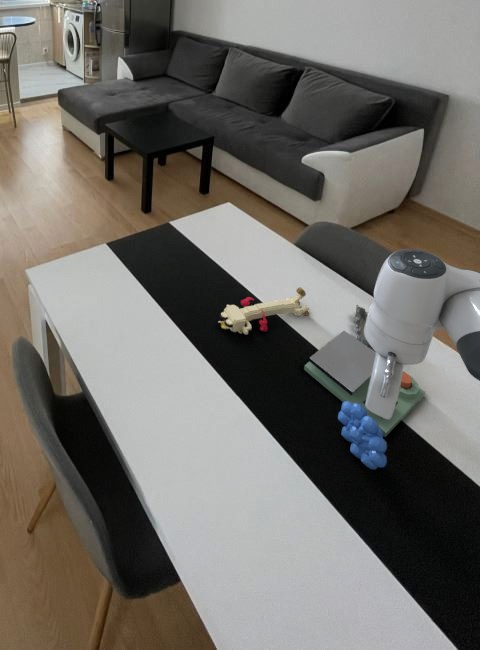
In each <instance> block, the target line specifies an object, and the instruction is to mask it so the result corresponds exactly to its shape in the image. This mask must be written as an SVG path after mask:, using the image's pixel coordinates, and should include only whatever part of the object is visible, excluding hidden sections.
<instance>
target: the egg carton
mask: <svg viewBox="0 0 480 650" xmlns="http://www.w3.org/2000/svg"><path fill="white" fill-rule="evenodd" d="M368 312H369V311H366V309H365V308H364V307H362V306H359V304H356V305H355V312H354V313H353V322H354V331H355V333H356V335H355V337H354V338H356V339H357V340H359V341H360V342H361V343H363V344H364V345H366V346H367V347H368V346H371V345H370V344H369V343H368V341H367V340H366V338H365V335H364V327H365V323H366V319H367V315H368Z"/></svg>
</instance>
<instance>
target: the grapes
mask: <svg viewBox="0 0 480 650" xmlns="http://www.w3.org/2000/svg"><path fill="white" fill-rule="evenodd" d="M337 420H338V421H339V422H340V423H341V424H342V425H343V426H342V428H341V434H340V435H341V436H342V438H344V439H345V440H346V441H347V442H349V443H350V447H349V451H350V453H351V454H352V455H353V456H354V457H356V458H357V459H359V460H360V461H361V463H362V464H363V465H364V466H365V467H366V468H368V469H370V470H371V471H373V470H374V471H375V470H377V469H378V468H385V467H386V466H387V463H388V457H387V455H386V454H385V453H386V452H387V449H388V443H387V441H386V440H385V439H384V436H383V431H382V430H381V429H380V428H379V424H378V423H377V422H376V421H375V420H374V419H373V418H372V417H369V416H367V410H366V409H365V408H364V407H363V406H362V405H360V404H358V403H353V404H352V403H351V402H349V401H344V402H342V403H341V409H340V411H339V412H338V415H337Z"/></svg>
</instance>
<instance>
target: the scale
mask: <svg viewBox="0 0 480 650" xmlns="http://www.w3.org/2000/svg"><path fill="white" fill-rule="evenodd" d="M303 370H304V371H305V372H306V373H307V374H309V376H311V377H312V378H313V379H314V380H316V381H317V382H318V383H319V384H320V385H322V386H323V387H324V388H325V389H326V390H328V391H329V392H330V393H331V394H332V395H333V396H335V397H336V398H337V399H339V400H340V401H341V402H342V403H343V402H344V401H349V402H351V403H352V404H353V403H358V404H360V405H362V406H363V407H364V408H365V409H366V410H367V416H369V417H372V418H373V419H374V420H375V421H376V422H377V423H378V424H379V428H380V429H381V430H382V431H383V438H387V436H388V435H389V434H390V433H391V432H392V431H393V430H394V429H395V428H396V427H397V425H398V424H399V423H400V422H401V421H402V420H403V419H404V418H405V417H407V415H408V414H409V413H410V411H412V409H414V408H415V406H416V405H417V404H418V403H419V402H420V401H421V400H422V399H423V398H424V397H425V395H426V391H425V390H423V389H422V388H420V387H419V383H418V382H417V380H416V379H415V378H414V377H413V376H412V375H411V374H409V373H407V372H405V371H404V370H403V372H405V373H407V374H408V375H409V376H410V377H411V379H412V383H411V386H410V388H408V389H404V388H401V387H400V391H399V395H398V398H397V402H398V404H397V405H396V406H395V409H394V412H393V416H392V418H391V419H389V420H387V419H384V418H383V419H382V418H381V417H380V416H378V415H376V414H374V413H372V412H371V411H369V410H368V409H367V408H366V406H365V404H364V403H363V401H364V400H365V399H366V397H367V393H368V388H369V383H370V380H369V381H367V382H366V383H365V384H364V385H363V386H362V387H361V388H360V389H359V390H358V391H357V392H355V393H354V394H353V395H352V396H351V395H350V394H349V393H348V392H346V391H345V390H344V389H343V388H341V387H340V386H339V385H338V384H336V383H335V382H334V381H333V380H331V379H330V378H329V377H328V376H327V375H325V374H324V373H323V372H322V371H320V370H319V369H318V368H317V367H315V366H314V365H313V364H312V363H311V362H309V361H308V362H307V363H306V364H304V367H303Z"/></svg>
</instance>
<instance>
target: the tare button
mask: <svg viewBox="0 0 480 650" xmlns="http://www.w3.org/2000/svg"><path fill="white" fill-rule="evenodd" d="M408 374H409V373H407V372H406V373H405V371H404V372H403V373H402V380H401V386H400V387H401V388H404V389H408V388H410V386H411V383H412V379H411V377H410V376H411V375H410V374H409V375H410V376H409V375H408Z"/></svg>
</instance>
